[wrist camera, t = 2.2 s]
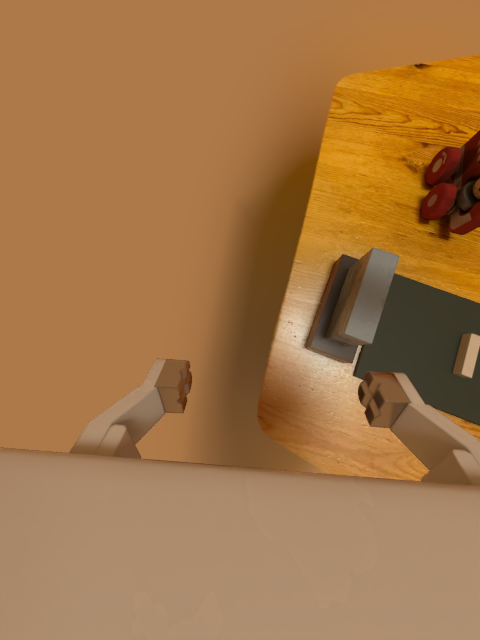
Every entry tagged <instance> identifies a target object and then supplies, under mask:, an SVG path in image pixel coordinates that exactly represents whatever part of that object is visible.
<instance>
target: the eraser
mask: <svg viewBox="0 0 480 640" xmlns="http://www.w3.org/2000/svg"><path fill="white" fill-rule="evenodd" d="M398 260H399V256H398V255H395V254H392V253H389V252H386V251H383V250H380V249H377V248H374V247H373V248H372V249H371V250H370V251H368V252H367V253H366V254H365V255H364V256H363V257H362V258H360V259H359V260H358V259H355V258H353V257H350V256H347V255H344V254H343V255H342V256H341V257H340V258H339V259H338V260H337V261H336V262H335V264H334V267H333V270H332V273H331V276H330V278H329V281H328V284H327V287H326V290H325V292H324V295H323V298H322V301H321V304H320V306H319V309H318V312H317V315H316V318H315V320H314V323H313V326H312V329H311V332H310V334H309V337H308V340H307V343H306V346H305V348H306V349H309V350H312V351H314V352H317V353H319V354H322V355H324V356H327V357H329V358H332V359H334V360H337V361H340V362H342V363H353V360H354V357H355V354H356V351H357V348H358V345H366V344H372V342H373V339H374V336H375V332H376V329H377V326H378V323H379V320H380V317H381V313H382V310H383V307H384V304H385V301H386V298H387V294H388V291H389V288H390V285H391V282H392V279H393V275H394V272H395V269H396V266H397V263H398Z"/></svg>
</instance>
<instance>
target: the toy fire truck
mask: <svg viewBox="0 0 480 640" xmlns="http://www.w3.org/2000/svg"><path fill="white" fill-rule="evenodd" d="M450 177H451V179H453V184H449V183H445V182H446V181H447V180H448V179H449V178H450ZM426 182H427V183H428V184H432V185H436V186H435V187H434V188H433V189H432V190H431V191H430V192H429V193H428V195H427V196H426V198H425V200H424V202H423V204H422V207H421V215H422V217H423V218H425V219H431V220H436V219H439V218H441V217H442V216H444V215H448V214H450V225H449V230H450V232H452V233H456V234H460V235H464V234H467V233H468V232H470V231H472V230H474V229H476V228H477V227H480V131H478V132H477V133H476V134H475V135H474V136H473V137H472V138H471V139H470V140H469V141H468V142H467V143H465V144H464V145H463V146H462V147H461V148H460V149H459V148H455V147H446V148H444V149H442V150H441V151H440V152H439V153H438V154H437V155H436V156H435V157H434V159H433V160H432V162H431V164H430V165H429V167H428V170H427V173H426Z"/></svg>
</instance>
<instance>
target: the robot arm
mask: <svg viewBox="0 0 480 640" xmlns="http://www.w3.org/2000/svg"><path fill="white" fill-rule="evenodd" d="M189 368H190V363H189V361H185V360H172V359H159V358H158V359H156V360H155V361H154V363H153V365H152V367H151V369H150V371H149V373H148V375H147V377H146V379H145V381H144V383H143V385H142V386H138V387H136V388H135V389H134V390H132V391H131V392H130V393H128V394H127V395H125V396H124V397H122V398H121V399H120V400H118V401H117V402H115V403H114V404H113V405H111V406H110V407H108V408H107V409H106V410H104V411H103V412H101V413H100V414H99V415H98V416H96V417H94V418H93V419H92V420H90V421H89V422H88V424H87V425H86V427H85V429H84V430H83V432H82V433H81V435H80V436H79V438H78V440H77V441H76V443H75V445H74V446H73V448H72V449H71V451H70V453H63V452H50V451H38V450H25V449H14V448H2V447H1V448H0V640H480V440H478V439H477V438H475V437H474V436H473V435H471V434H470V433H468V432H467V431H466V430H464V429H463V428H461V427H460V426H458V425H457V424H456V423H454V422H453V421H451V420H450V419H449V418H447V417H446V416H444V415H443V414H441V413H440V412H439V411H437V410H436V409H434V408H433V407H432V406H430V405H426V404H425V403H424V402H423V400H422V398H421V397H420V395H419V394H418V392H417V391H416V389H415V388H414V386H413V385H412V383H411V382H410V380H409V379H408V377H407V376H406V375H405V374H404V373H396V372H377V371H367V372H366V373H365V375H364V379H365V381H363V382H361V383H360V385H359V388H358V396H359V400H360V403H361V404H362V405H363V406H364V407H365V408H366V410H365V412H364V413H365V415H366V418H367V420H368V423H369V425H370V426H371V427H382V428H390V430H391V431H392V432H393V433H394V434H395V435H396V436H397V437H398V438H399V439H400V440H401V441H402V442H403V443H404V444H405V445H406V446H407V447H408V449H409V450H410V451H411V452H412V453H413V454H414V455H415V456H416V457H417V458H418V459H419V460H420V461H421V462H422V463H423V464H424V465H425V466H426V467H427V468H428V469H429V470H430V471H429V472H427V473H426V474H425V475H424V476H423V477H422V479H421V481H409V480H397V479H385V478H373V477H360V476H348V475H336V474H322V473H311V472H299V471H287V470H274V469H262V468H249V467H235V466H224V465H212V464H199V463H187V462H174V461H162V460H150V459H141V456H140V454H139V452H138V450H137V448H136V446H135V444H136V443H137V442H138V441H139V440H140V439H141V438H142V437H143V436H144V435H145V434H146V433H147V432H148V431H149V430H150V429H151V428H152V427H153V426H154V424H155V423H157V422H158V421H159V419H160V418H161V417H162V416H163V415H164V414H165V413H184V409H185V406H186V403H187V398H186V395H187V394H188V393H189V392H190V389H191V383H192V374H191V372H190V371H189Z"/></svg>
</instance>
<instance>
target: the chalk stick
mask: <svg viewBox="0 0 480 640" xmlns="http://www.w3.org/2000/svg"><path fill="white" fill-rule="evenodd" d="M479 347H480V336H478V335H475V334H472V333H470V334H463V335H462V338H461V342H460V346H459V350H458V354H457V358H456V361H455V365H454V369H453V374H455V375H458V376H460V377H465V378H472V375H473V371H474V367H475V363H476V359H477V355H478V351H479Z"/></svg>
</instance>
